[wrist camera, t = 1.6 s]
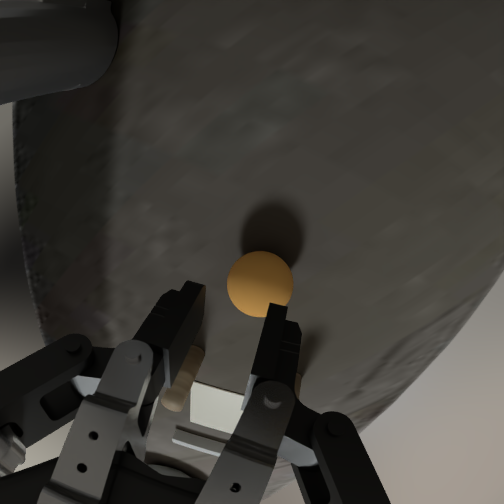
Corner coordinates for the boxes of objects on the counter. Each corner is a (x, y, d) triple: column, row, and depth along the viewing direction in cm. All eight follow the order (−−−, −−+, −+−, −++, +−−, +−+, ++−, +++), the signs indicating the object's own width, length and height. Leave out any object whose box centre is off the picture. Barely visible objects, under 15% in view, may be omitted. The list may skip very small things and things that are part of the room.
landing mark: (191, 380, 44) (191, 381, 44) (283, 404, 43) (282, 405, 43) (190, 420, 52) (190, 421, 52) (265, 440, 50) (264, 441, 50)
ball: (240, 232, 30) (222, 266, 25) (302, 248, 30) (297, 285, 25) (232, 282, 34) (216, 320, 28) (288, 297, 33) (280, 337, 28)
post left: (186, 343, 40) (160, 396, 32) (205, 348, 40) (181, 403, 32) (186, 355, 41) (161, 406, 34) (204, 360, 41) (182, 414, 34)
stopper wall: (176, 428, 55) (172, 438, 53) (274, 455, 53) (271, 465, 51) (176, 432, 56) (172, 442, 54) (272, 458, 54) (269, 468, 52)
